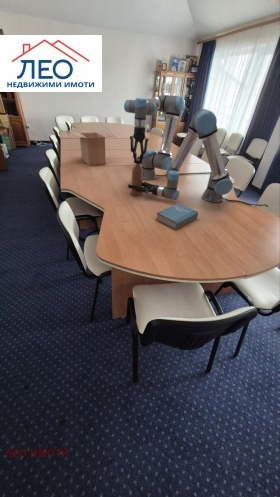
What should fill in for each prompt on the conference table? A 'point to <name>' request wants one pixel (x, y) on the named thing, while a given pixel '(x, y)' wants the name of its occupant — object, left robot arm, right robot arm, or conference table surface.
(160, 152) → the left robot arm
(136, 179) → the bottle
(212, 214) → the conference table surface
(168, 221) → the book
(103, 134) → the box
